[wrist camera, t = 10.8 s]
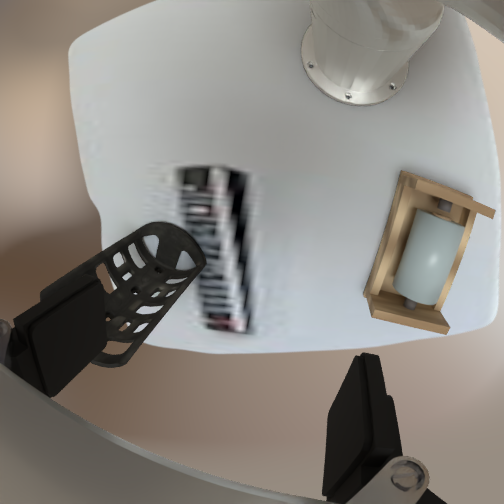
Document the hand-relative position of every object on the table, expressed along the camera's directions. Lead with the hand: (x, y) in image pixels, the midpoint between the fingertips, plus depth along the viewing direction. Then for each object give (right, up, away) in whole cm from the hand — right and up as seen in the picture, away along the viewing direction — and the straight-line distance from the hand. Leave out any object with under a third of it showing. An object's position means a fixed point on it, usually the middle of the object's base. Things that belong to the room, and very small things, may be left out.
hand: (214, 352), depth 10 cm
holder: (-10, +3, +32) cm, 33 cm away
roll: (+21, +4, +23) cm, 32 cm away
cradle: (+22, +4, +24) cm, 33 cm away
